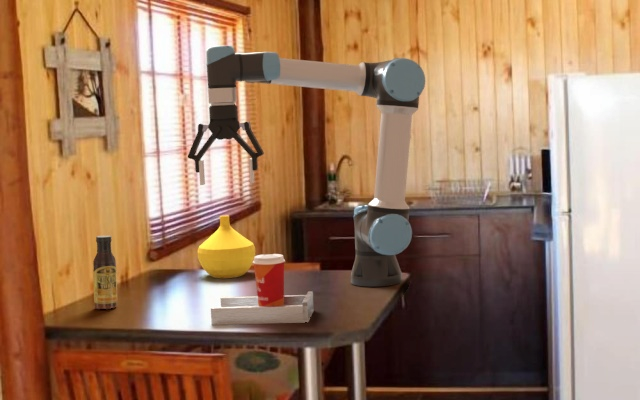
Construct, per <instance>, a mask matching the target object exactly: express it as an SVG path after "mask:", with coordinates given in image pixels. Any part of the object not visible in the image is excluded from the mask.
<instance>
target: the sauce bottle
mask: <svg viewBox="0 0 640 400" xmlns="http://www.w3.org/2000/svg"><path fill="white" fill-rule="evenodd" d="M95 242H96V255H95V256H94V259H93V261H92V262H93V263H92V264H93V269H92V275H93V281H92V282H93V302H94V309H96V310H100V309H106V310H111V308H113V309H116V308H117V306H118V304H117V303H118V284H117V283H118V281H117V280H118V278H117V277H118V276H117V263H116V262H117V261H116V257H115V256H114V254H113V252H112V236H111V235H97V236H95ZM115 307H116V308H115Z"/></svg>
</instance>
